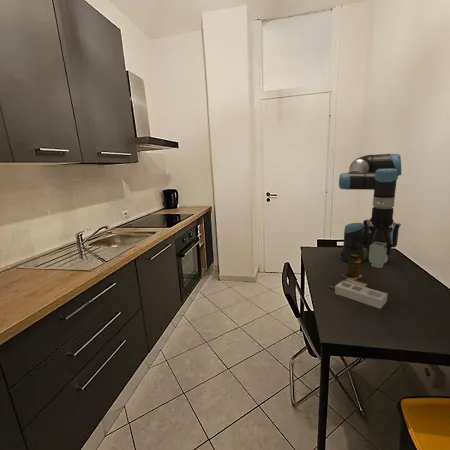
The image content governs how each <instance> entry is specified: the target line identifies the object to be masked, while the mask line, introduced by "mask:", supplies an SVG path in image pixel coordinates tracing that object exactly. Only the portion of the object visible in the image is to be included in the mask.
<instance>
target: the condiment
mask: <svg viewBox="0 0 450 450" xmlns="http://www.w3.org/2000/svg"><path fill="white" fill-rule="evenodd" d="M347 263H348V264H347V272H346V273H344V274H341V276H343V277H345V278H346V279H347V278H348V279H351V280H355V281H356V280H358V279H360V278H362V277H363V275H362V274H360V273H361V264H362V263H361V261H360V255H358V254H350V257H349V260H348V262H347Z"/></svg>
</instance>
